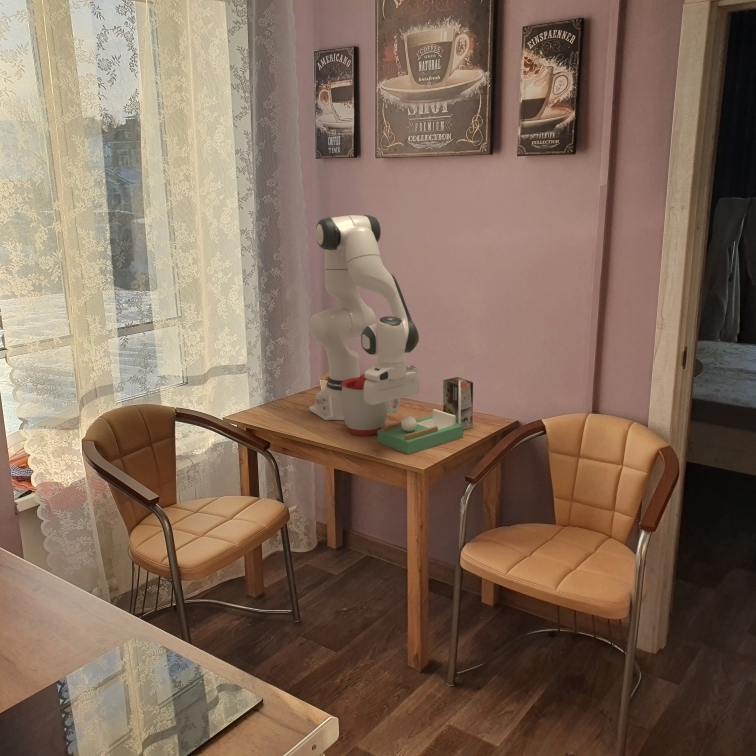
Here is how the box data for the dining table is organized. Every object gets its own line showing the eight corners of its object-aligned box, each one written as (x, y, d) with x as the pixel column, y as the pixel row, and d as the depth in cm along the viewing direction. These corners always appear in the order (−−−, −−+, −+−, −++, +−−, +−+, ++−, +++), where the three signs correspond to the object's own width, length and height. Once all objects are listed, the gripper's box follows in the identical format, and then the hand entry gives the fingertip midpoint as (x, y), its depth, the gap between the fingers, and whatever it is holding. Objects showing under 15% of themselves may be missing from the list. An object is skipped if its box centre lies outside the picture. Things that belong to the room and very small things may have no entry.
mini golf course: (377, 442, 252) (376, 385, 247) (431, 426, 267) (431, 372, 262) (412, 456, 239) (412, 396, 234) (467, 438, 254) (468, 382, 249)
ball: (398, 431, 250) (397, 416, 249) (409, 427, 253) (409, 413, 252) (408, 435, 246) (408, 420, 245) (420, 431, 249) (420, 416, 248)
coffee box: (473, 427, 265) (474, 382, 260) (458, 431, 261) (458, 385, 257) (457, 420, 272) (457, 376, 268) (442, 424, 269) (442, 379, 265)
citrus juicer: (401, 431, 262) (401, 374, 257) (358, 441, 253) (356, 382, 248) (376, 419, 275) (375, 365, 270) (333, 429, 265) (332, 372, 260)
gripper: (410, 362, 248) (411, 404, 252) (359, 373, 236) (361, 417, 239) (423, 365, 244) (424, 408, 247) (372, 377, 231) (374, 421, 235)
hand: (392, 412), depth 243 cm, fingers closed
